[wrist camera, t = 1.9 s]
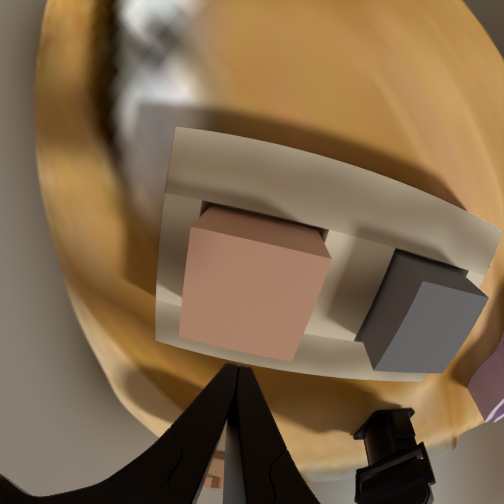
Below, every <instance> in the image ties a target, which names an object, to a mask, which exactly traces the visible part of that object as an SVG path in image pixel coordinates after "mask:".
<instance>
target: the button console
mask: <svg viewBox="0 0 504 504" xmlns="http://www.w3.org/2000/svg"><path fill="white" fill-rule="evenodd" d="M211 206H215V207H219V208H224V209H229V210H233V211H238V212H242V213H247V214H251V215H256V216H260V217H264V218H269V219H273V220H277V221H281V222H286V223H290V224H294V225H298V226H302V227H306V228H310V229H314V230H318V232H319V234H320V236H321V238H322V240H323V242H324V244H325V246H326V248H327V250H328V252H329V254H330V256H331V258H332V260H331V263H330V266H329V269H328V271H327V274H326V277H325V280H324V283H323V285H322V288H321V291H320V293H319V296H318V299H317V301H316V304H315V307H314V309H313V312H312V314H311V317H310V319H309V322H308V324H307V327H306V329H305V332H304V334H303V336H302V339H301V341H300V344H299V346H298V348H297V351H296V353H295V355H294V358H293V360H292V361H287V360H281V359H275V358H270V357H264V356H259V355H254V354H249V353H244V352H239V351H235V350H230V349H226V348H221V347H217V346H213V345H209V344H205V343H201V342H197V341H193V340H189V339H185V338H182V337H179V329H180V317H181V306H182V295H183V286H184V277H185V268H186V260H187V252H188V244H189V237H190V230H191V226H192V225H193V224H194V223H195V222H196V221H197V220H198V219H199V218H200V217H201V216H202V215H203V214H204V213H205V212H206V211H207V210H208V209H209V208H210V207H211ZM501 233H502V230H501V229H499V228H497V227H495V226H494V225H492V224H490V223H488V222H486V221H484V220H483V219H481V218H479V217H477V216H475V215H473V214H471V213H469V212H467V211H465V210H463V209H461V208H459V207H457V206H455V205H453V204H450V203H448V202H446V201H444V200H442V199H440V198H437V197H435V196H433V195H430V194H428V193H426V192H423V191H421V190H419V189H416V188H414V187H411V186H409V185H406V184H404V183H401V182H399V181H396V180H393V179H391V178H388V177H385V176H383V175H380V174H377V173H374V172H371V171H369V170H366V169H363V168H360V167H357V166H354V165H350V164H347V163H344V162H341V161H338V160H334V159H331V158H328V157H324V156H321V155H317V154H314V153H310V152H306V151H302V150H299V149H295V148H291V147H287V146H282V145H278V144H274V143H269V142H265V141H260V140H256V139H251V138H246V137H241V136H235V135H230V134H224V133H219V132H212V131H206V130H199V129H192V128H185V127H177V126H176V128H175V133H174V138H173V144H172V149H171V155H170V161H169V168H168V174H167V181H166V188H165V195H164V203H163V212H162V221H161V230H160V241H159V253H158V267H157V284H156V310H155V341H158V342H161V343H165V344H168V345H172V346H175V347H179V348H182V349H186V350H190V351H193V352H197V353H201V354H205V355H209V356H214V357H218V358H222V359H227V360H231V361H236V362H240V363H245V364H250V365H256V366H261V367H266V368H272V369H278V370H284V371H291V372H297V373H304V374H312V375H320V376H329V377H339V378H350V379H363V380H379V381H423V380H424V379H425V377H426V376H427V374H428V373H402V372H383V371H373V368H372V366H371V363H370V360H369V357H368V355H367V352H366V349H365V347H364V344H363V341H362V339H361V336H360V333H359V329H360V327H361V326H362V324H363V321H364V319H365V317H366V315H367V313H368V311H369V309H370V307H371V305H372V303H373V300H374V298H375V296H376V294H377V292H378V289H379V287H380V285H381V282H382V280H383V278H384V275H385V273H386V271H387V268H388V266H389V263H390V261H391V258H392V256H393V253H394V251H397V252H400V253H404V254H407V255H410V256H414V257H417V258H421V259H424V260H427V261H431V262H434V263H437V264H440V265H444V266H447V267H450V268H453V269H456V270H458V271H460V272H461V273H462V274H463V275H464V276H465V277H466V278H468V279H469V280H470V281H471V282H472V283H473V284H474V285H475V286H477V287H478V288H480V286H481V283H482V281H483V279H484V277H485V275H486V272H487V270H488V268H489V265H490V263H491V260H492V258H493V255H494V253H495V250H496V247H497V245H498V242H499V239H500V236H501Z"/></svg>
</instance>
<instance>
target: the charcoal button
mask: <svg viewBox="0 0 504 504" xmlns="http://www.w3.org/2000/svg"><path fill="white" fill-rule="evenodd" d="M487 300H488V297H487V296H486V295H485V294H484V293H483V292H482V291H481V290H480V289H479V288H478V287H477V286H475V285H474V284H473V283H472V282H471V281H470V280H469V279H468V278H466V277H465V276H464V275H463V274H462V273H461V272H460V271H458V270H456V269H453V268H450V267H447V266H444V265H440V264H437V263H434V262H431V261H427V260H424V259H421V258H417V257H414V256H410V255H407V254H404V253H400V252H397V251H394V253H393V256H392V258H391V261H390V263H389V266H388V268H387V271H386V273H385V275H384V278H383V280H382V282H381V285H380V287H379V289H378V292H377V294H376V296H375V298H374V300H373V303H372V305H371V307H370V309H369V311H368V313H367V315H366V317H365V319H364V321H363V324H362V326H361V327H360V329H359V333H360V336H361V339H362V341H363V344H364V347H365V349H366V352H367V355H368V357H369V360H370V363H371V366H372V368H373V371H383V372H402V373H443V372H444V371H445V369H446V368H447V366H448V365H449V364H450V362H451V361H452V359H453V358H454V356H455V355H456V353H457V352H458V350H459V349H460V347H461V346H462V344H463V343H464V341H465V339H466V338H467V336H468V335H469V333H470V331H471V330H472V328H473V326H474V324H475V323H476V321H477V319H478V317H479V316H480V314H481V312H482V310H483V308H484V306H485V304H486V302H487Z"/></svg>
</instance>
